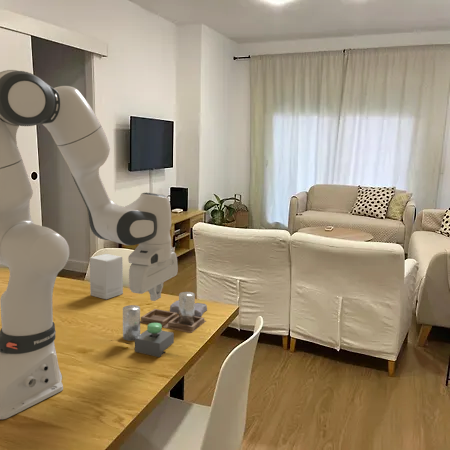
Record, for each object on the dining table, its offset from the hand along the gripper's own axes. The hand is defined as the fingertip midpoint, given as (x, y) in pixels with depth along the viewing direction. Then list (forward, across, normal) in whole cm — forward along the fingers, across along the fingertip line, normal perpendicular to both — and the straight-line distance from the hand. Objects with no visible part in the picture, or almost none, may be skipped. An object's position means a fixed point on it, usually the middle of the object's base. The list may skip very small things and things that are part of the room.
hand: (155, 299), depth 127 cm
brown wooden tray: (+15, -18, -4) cm, 23 cm away
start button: (+13, 0, 0) cm, 13 cm away
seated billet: (+14, -18, +1) cm, 22 cm away
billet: (+15, -2, -9) cm, 17 cm away
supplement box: (+15, -32, -41) cm, 55 cm away
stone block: (+16, -30, -4) cm, 34 cm away
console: (+15, 0, 0) cm, 15 cm away
